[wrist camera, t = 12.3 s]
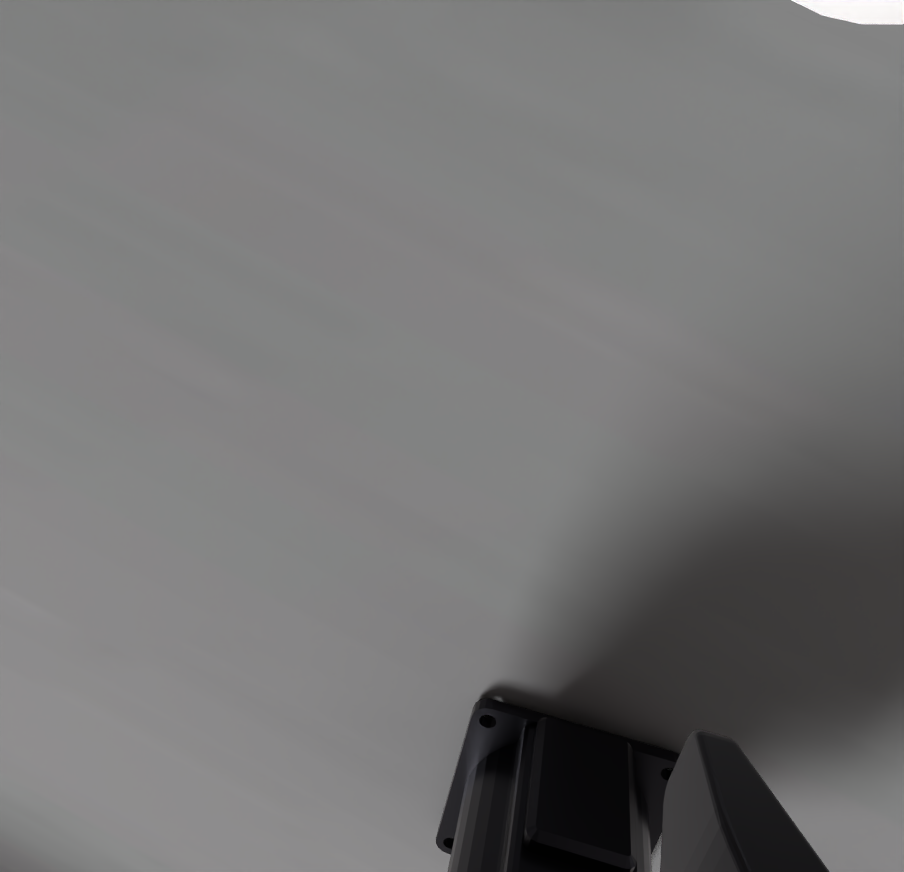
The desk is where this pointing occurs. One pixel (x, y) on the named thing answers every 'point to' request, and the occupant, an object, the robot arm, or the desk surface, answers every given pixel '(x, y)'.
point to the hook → (859, 10)
